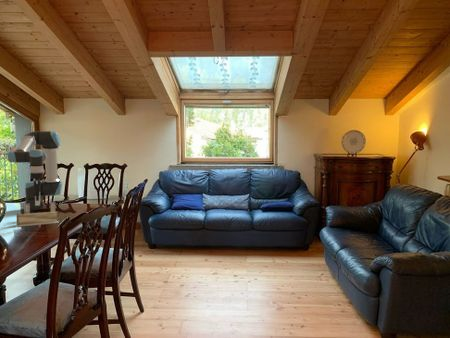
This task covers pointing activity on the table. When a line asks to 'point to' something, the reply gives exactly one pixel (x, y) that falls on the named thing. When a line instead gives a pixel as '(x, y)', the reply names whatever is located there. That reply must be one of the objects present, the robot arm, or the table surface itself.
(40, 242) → the table surface
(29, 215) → the rail
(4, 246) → the table surface
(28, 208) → the post near
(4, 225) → the table surface
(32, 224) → the mat
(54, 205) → the post far
